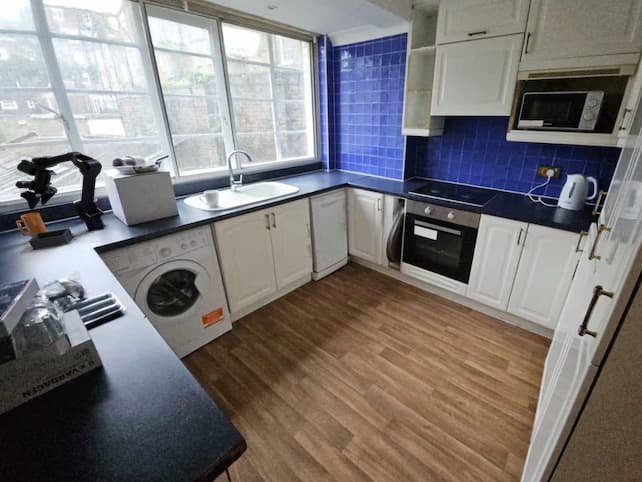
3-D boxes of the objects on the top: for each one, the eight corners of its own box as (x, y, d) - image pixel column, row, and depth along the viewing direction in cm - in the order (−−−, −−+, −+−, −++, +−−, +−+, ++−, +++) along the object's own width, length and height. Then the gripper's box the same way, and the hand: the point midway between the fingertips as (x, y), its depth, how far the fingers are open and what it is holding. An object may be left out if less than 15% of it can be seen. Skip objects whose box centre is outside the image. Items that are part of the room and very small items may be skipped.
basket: (73, 236, 152) (69, 228, 150) (67, 243, 143) (63, 235, 141) (40, 241, 146) (36, 233, 144) (33, 250, 137) (28, 241, 135)
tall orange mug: (51, 235, 154) (40, 211, 148) (48, 239, 149) (36, 215, 144) (28, 239, 149) (15, 215, 144) (23, 243, 144) (10, 218, 139)
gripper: (33, 170, 157) (28, 197, 160) (7, 177, 140) (2, 206, 144) (60, 178, 161) (55, 204, 165) (38, 185, 145) (33, 214, 148)
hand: (37, 207), depth 155 cm, fingers open, 9 cm apart
